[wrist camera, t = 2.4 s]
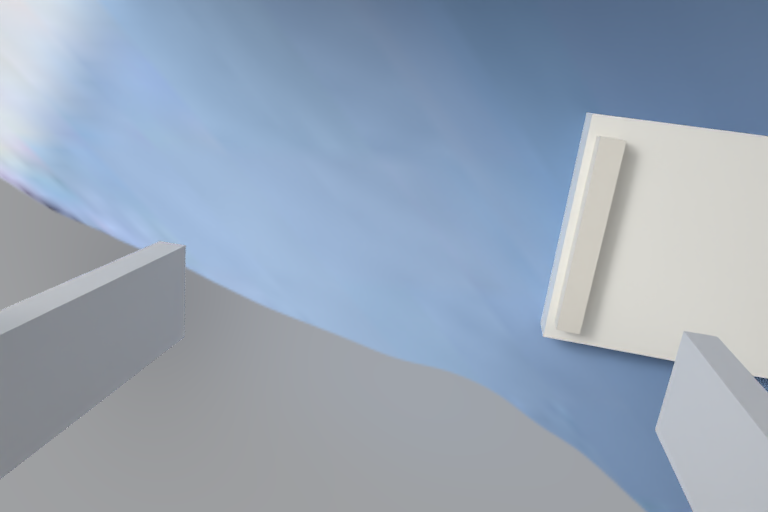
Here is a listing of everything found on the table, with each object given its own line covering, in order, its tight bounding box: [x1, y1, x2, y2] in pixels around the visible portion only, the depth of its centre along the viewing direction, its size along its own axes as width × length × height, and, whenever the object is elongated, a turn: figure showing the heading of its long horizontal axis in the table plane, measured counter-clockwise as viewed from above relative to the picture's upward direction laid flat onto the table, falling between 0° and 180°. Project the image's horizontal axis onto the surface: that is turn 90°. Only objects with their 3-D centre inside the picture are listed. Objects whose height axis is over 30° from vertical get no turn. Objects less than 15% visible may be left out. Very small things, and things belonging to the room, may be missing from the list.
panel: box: [541, 113, 768, 379], centre depth 30 cm, size 12×12×4 cm
